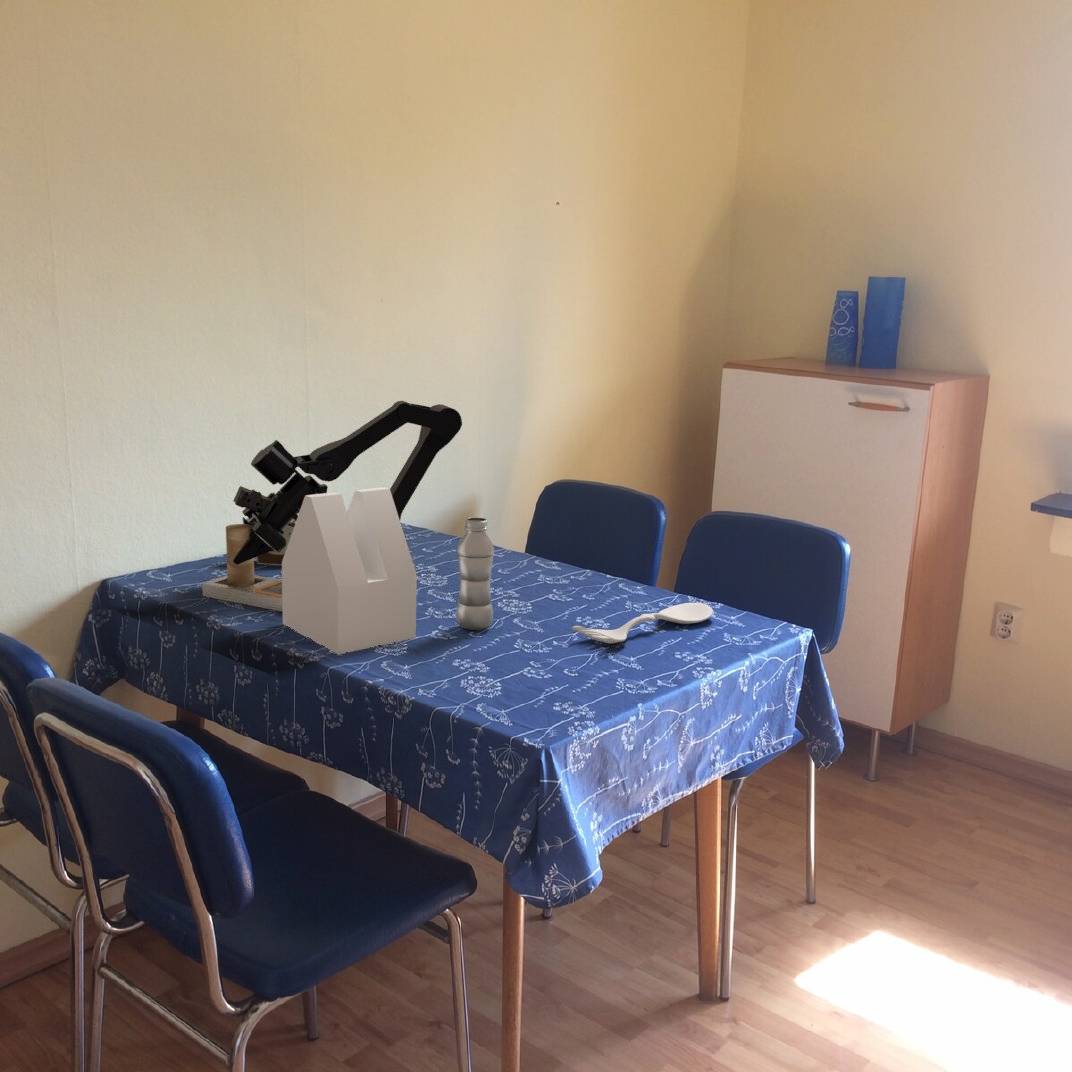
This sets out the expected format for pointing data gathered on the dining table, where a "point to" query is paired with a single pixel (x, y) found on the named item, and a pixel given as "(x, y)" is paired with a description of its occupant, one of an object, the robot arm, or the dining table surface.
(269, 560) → the food container
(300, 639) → the dining table surface
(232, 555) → the wooden peg
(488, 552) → the plastic bottle
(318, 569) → the white notched block
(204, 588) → the compartment tray
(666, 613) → the spoon
